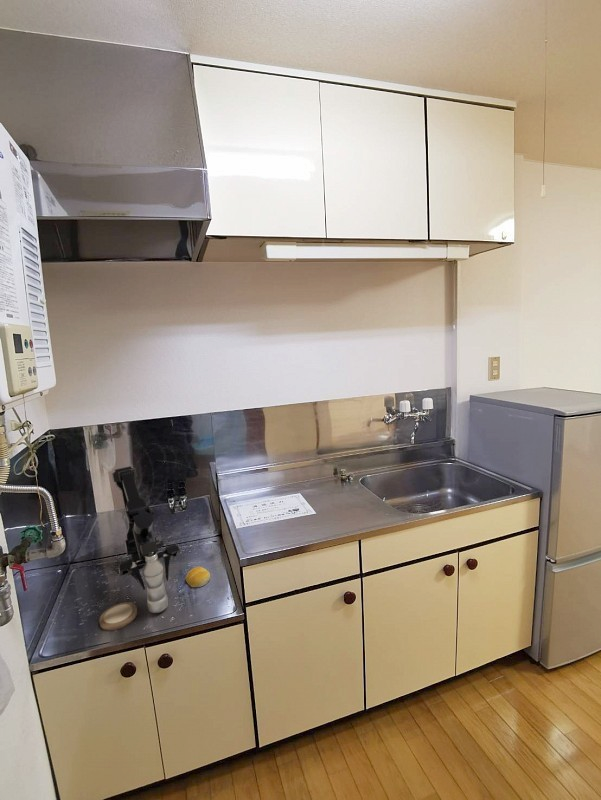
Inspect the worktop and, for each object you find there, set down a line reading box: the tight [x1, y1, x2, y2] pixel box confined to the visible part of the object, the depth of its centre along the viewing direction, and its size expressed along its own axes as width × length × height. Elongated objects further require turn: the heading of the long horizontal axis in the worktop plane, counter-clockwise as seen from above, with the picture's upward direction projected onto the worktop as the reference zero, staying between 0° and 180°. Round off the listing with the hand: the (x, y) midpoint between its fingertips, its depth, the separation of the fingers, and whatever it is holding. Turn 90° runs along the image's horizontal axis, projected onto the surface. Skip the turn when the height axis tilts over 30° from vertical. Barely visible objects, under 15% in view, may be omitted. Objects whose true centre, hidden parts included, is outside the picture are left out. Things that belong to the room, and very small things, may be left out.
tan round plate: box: [98, 601, 138, 631], centre depth 126 cm, size 11×11×2 cm
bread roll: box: [185, 566, 211, 588], centre depth 143 cm, size 8×9×4 cm
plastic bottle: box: [142, 552, 169, 614], centre depth 127 cm, size 6×7×20 cm
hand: (156, 585), depth 126 cm, fingers open, 7 cm apart
